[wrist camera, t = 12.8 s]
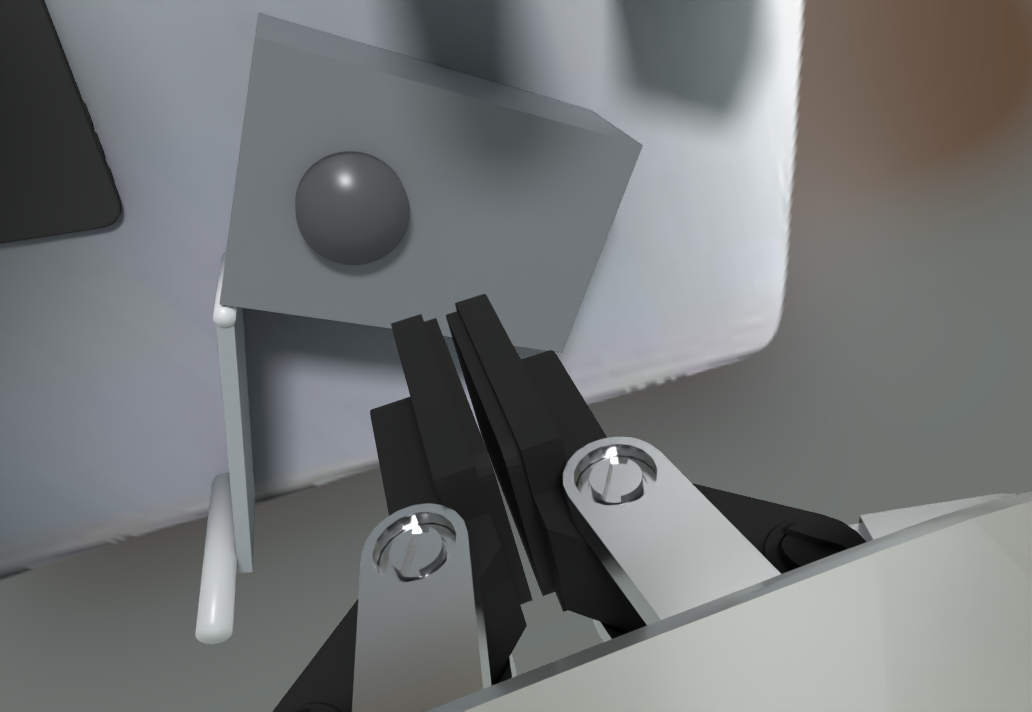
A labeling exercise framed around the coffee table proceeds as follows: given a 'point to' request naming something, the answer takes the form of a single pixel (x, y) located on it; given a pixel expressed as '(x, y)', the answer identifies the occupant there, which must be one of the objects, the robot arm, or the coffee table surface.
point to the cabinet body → (414, 191)
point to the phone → (46, 135)
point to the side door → (228, 485)
